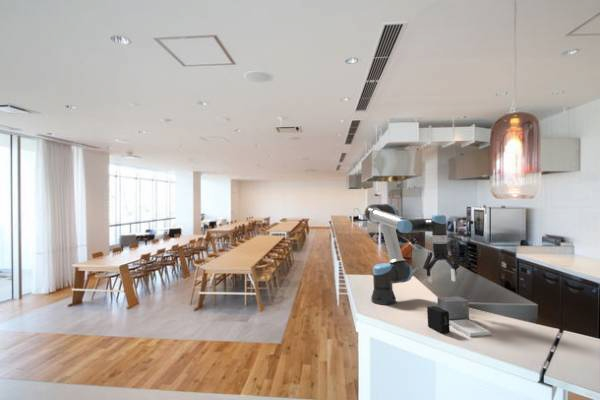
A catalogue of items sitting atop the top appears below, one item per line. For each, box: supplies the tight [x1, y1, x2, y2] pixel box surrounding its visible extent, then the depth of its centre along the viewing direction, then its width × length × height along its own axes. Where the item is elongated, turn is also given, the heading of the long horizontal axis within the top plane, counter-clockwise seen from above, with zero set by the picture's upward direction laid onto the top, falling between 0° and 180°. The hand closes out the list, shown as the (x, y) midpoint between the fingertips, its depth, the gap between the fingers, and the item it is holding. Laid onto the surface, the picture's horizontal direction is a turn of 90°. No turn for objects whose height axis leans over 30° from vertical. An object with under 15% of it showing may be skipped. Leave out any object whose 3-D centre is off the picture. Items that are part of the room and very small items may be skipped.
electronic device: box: [426, 305, 450, 335], centre depth 146 cm, size 4×10×10 cm, turn 15°
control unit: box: [437, 295, 473, 322], centre depth 159 cm, size 10×14×11 cm
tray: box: [449, 319, 491, 338], centre depth 146 cm, size 16×10×2 cm, turn 7°
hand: (442, 281), depth 169 cm, fingers open, 13 cm apart
